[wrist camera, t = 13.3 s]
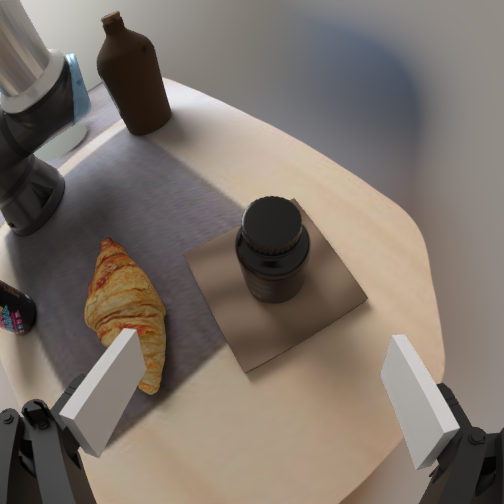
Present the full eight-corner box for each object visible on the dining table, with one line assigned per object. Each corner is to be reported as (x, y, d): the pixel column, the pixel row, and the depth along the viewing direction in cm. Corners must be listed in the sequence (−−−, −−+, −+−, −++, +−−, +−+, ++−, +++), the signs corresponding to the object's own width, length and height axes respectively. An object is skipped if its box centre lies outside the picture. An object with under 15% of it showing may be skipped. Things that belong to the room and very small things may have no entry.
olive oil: (175, 100, 53) (145, -2, 31) (173, 129, 48) (134, 9, 26) (129, 113, 53) (90, 19, 30) (122, 143, 48) (70, 36, 26)
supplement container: (10, 329, 33) (-35, 309, 23) (20, 292, 36) (-22, 267, 26) (31, 342, 32) (-18, 323, 22) (42, 302, 35) (-4, 275, 25)
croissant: (189, 384, 32) (202, 371, 26) (114, 409, 27) (107, 402, 21) (136, 249, 41) (140, 213, 35) (74, 262, 35) (66, 226, 29)
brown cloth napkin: (186, 258, 36) (183, 254, 35) (293, 203, 38) (294, 198, 37) (245, 373, 29) (244, 372, 28) (365, 300, 32) (368, 297, 30)
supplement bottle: (269, 239, 35) (265, 172, 24) (315, 271, 32) (334, 212, 22) (231, 281, 33) (210, 226, 22) (279, 318, 30) (281, 278, 20)
